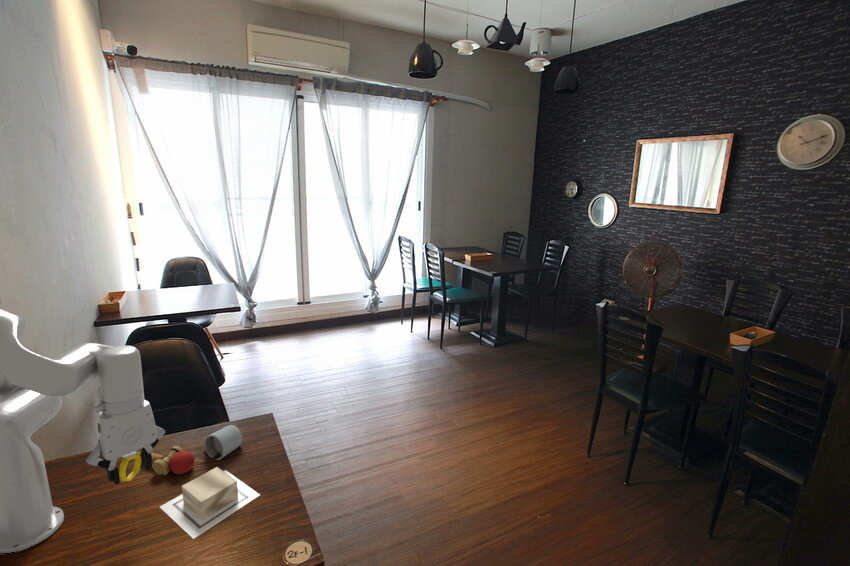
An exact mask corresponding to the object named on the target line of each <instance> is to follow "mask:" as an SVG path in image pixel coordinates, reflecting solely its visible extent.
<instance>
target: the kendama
mask: <svg viewBox="0 0 850 566" xmlns="http://www.w3.org/2000/svg"><path fill="white" fill-rule="evenodd" d="M137 452H138V453H139V454H140V452H141V450H139V451H137ZM151 455H152V463H151V464H152V466H151V467H152V469H153V471H154V472H155V473H156V474H157V475H159V476H160V475H164V476H167V475H168V474H169V473H170V471H171V473H173V474H175V475H184V474H186V473H188V472H189V471H191V470H192V468H193V467H194V464H195V456H194V455H193V453H192V452H191V451H188V450H184V449H183V448H182V447H180V446H178V445H175V446H173V447H172V448H170V450H169V454H168V455H167V456H164V455H162V454H159V453H154V452H152V453H151Z"/></svg>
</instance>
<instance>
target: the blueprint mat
mask: <svg viewBox="0 0 850 566" xmlns="http://www.w3.org/2000/svg"><path fill="white" fill-rule="evenodd" d="M223 471H224V472H225V473H226V474H228V475H229V476H231V477H232V478H233V479H235V480H236V481H237V489H238V498H237V499H236V500H234V501H233V502H231V503H229V504H228V505H226V506H225V507H223V508H222V509H220V510H218V511H217V512H215V513H214V514H212V515H211V516H209V517H207V518H206V519H204V520H202V519H201V518H200V517H199V516H197V515H196V514H195V513H194V512H193V511H192V510H190V509H189V508H188V507H187V506H186V505H185V504H184V503H183V494H180V495H178V496H177V497H174V498H173V499H171V500H169V501H167V502H166V503H164V504H161V505H160V506H159V508H160V509H161V510H162V512H164V513H165V514H166V515H167V516H168V517H170V518H171V519H172V520H173V521H174V522H175V523H176V525H178V527H180V528H181V529H182V530H183V531H184V532H185V533H187V535H189V537H191V538H192V539H193V540H195V539H196V538H198V537H199V536H200V535H202V534H203V533H205V532H206V531H208V530H210V529H211V528H213V527H214V526H215V525H217V524H219V523H221V522H222V521H223V520H225V519H226V518H228V517H229V516H232V514H234V513H236V512H237V511H238V510H240V509H241V508H243V507H244V506H246V505H248V504H249V503H250V502H252V501H253V500H255V499H257V498H258V497H259V496H261V494H260V493H259V492H257V491H256V490H254V489H253V488H251V487H250V486H249V485H247V484H246V483H245V482H243V481H242V480H240V478H238V477H236V476H235V475H233V474H232V473H230V472H229V471H228V470H226V469H224V470H223Z"/></svg>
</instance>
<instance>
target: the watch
mask: <svg viewBox="0 0 850 566" xmlns="http://www.w3.org/2000/svg"><path fill="white" fill-rule="evenodd" d="M138 452H139V451H134V452H132V453H130V454H127V455H125V456H122V457H121V459H122V460H121V462H120V465H119V468H118V469H119V478H120V482H131V481H132V480H133V478H135V477H136V475H137V474H139V473H140V470H141V468H142V467H141V466H142V465H141V462H142V460H141V455H140V454H139V453H138ZM133 459H134V466H133V467H132V471H131V472H130V473H129V474H128V475H127V474H126V470H127V466H128V464H129V462H130V461H131V460H133Z"/></svg>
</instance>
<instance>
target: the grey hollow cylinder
mask: <svg viewBox="0 0 850 566" xmlns="http://www.w3.org/2000/svg"><path fill="white" fill-rule="evenodd" d="M243 440H244V436H243V432H242V431H241V429H240V428H239V427H238V426H237V425H235V424H229V425H227V426H224V427H222V428H221V429H219V430H216V431H214V432H212V433H211V434H208V435H207V436H206V438H205V439H204V450H205V451H206V454H207V455H208V457H210V458H214V457H215V456H216V455H218V454H219V455H220V456H219V457H218V458H216V460H218V461H220V460H222V459H223V458H225V457H226V456H227V455H229V454H230V453H232V452H233V451H235V450H236V449H238V448H239V447H240V446H241V445H242V443H243Z"/></svg>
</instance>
